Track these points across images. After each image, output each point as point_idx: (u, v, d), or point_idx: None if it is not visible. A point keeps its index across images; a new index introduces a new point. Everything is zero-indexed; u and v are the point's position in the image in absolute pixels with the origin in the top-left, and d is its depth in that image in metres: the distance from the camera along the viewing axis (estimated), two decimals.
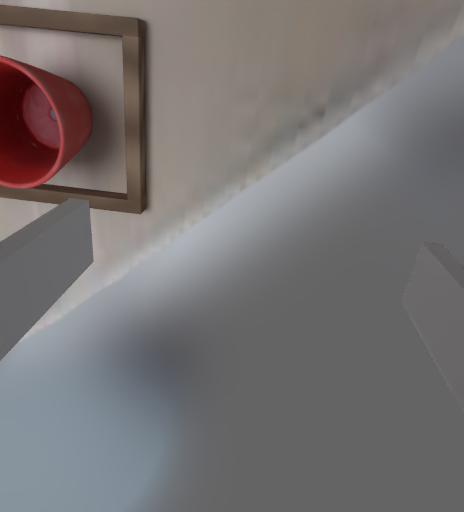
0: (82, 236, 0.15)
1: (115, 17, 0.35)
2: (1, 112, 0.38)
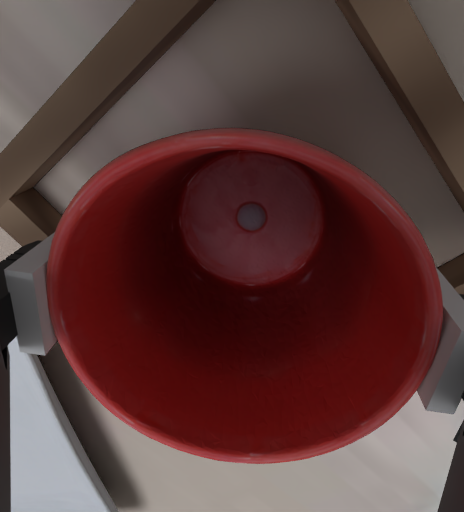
0: None
1: None
2: (174, 291, 0.17)
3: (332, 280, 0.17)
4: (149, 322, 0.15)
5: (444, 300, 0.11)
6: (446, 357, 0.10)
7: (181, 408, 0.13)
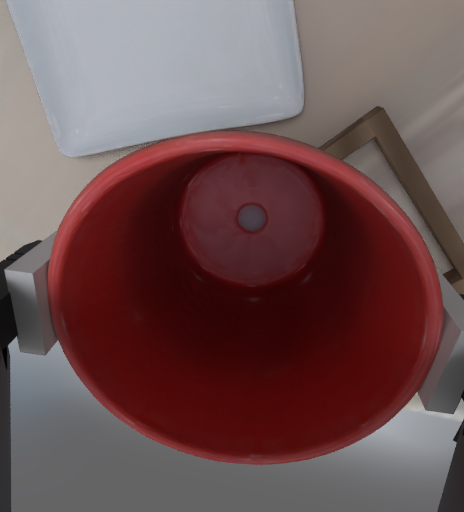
0: None
1: None
2: (175, 292, 0.17)
3: (332, 281, 0.17)
4: (150, 322, 0.15)
5: (444, 300, 0.11)
6: (446, 357, 0.10)
7: (182, 409, 0.13)
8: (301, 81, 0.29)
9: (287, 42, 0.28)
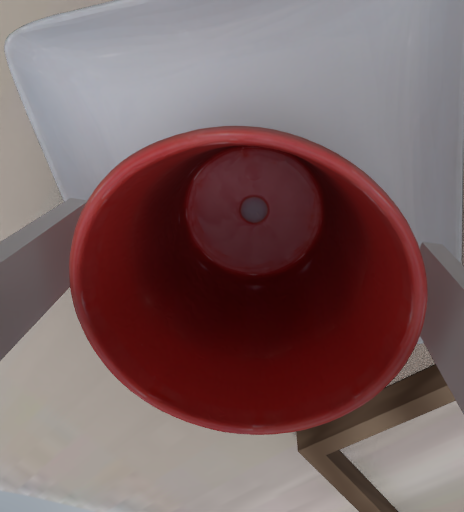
0: None
1: None
2: (181, 279, 0.18)
3: (329, 268, 0.18)
4: (158, 306, 0.16)
5: None
6: None
7: (189, 384, 0.15)
8: None
9: None
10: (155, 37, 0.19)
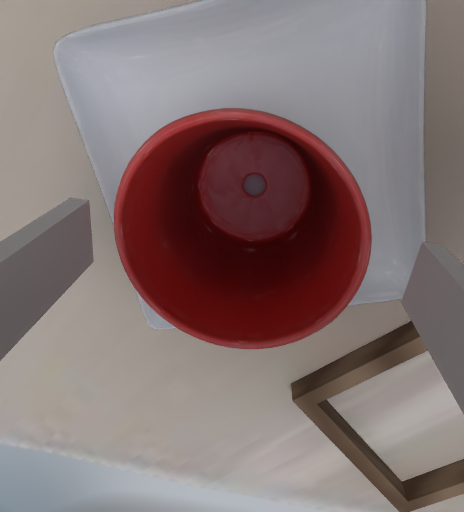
0: (82, 236, 0.15)
1: None
2: (191, 235, 0.23)
3: (311, 235, 0.22)
4: (173, 250, 0.20)
5: None
6: None
7: (192, 309, 0.19)
8: None
9: (410, 228, 0.26)
10: (175, 42, 0.23)
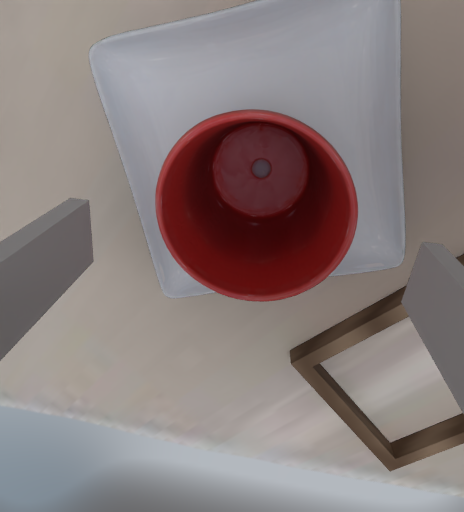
0: (82, 236, 0.15)
1: None
2: (207, 208, 0.27)
3: (307, 213, 0.26)
4: (194, 220, 0.25)
5: None
6: None
7: (210, 268, 0.23)
8: (403, 240, 0.31)
9: (391, 206, 0.30)
10: (191, 47, 0.27)
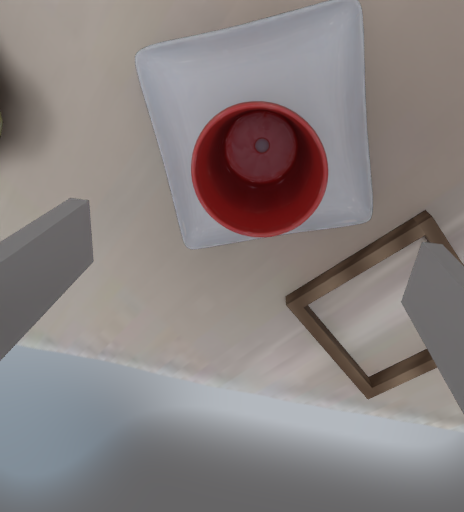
0: (82, 236, 0.15)
1: None
2: (219, 171, 0.36)
3: (292, 181, 0.36)
4: (212, 177, 0.34)
5: None
6: None
7: (222, 212, 0.33)
8: (371, 200, 0.40)
9: (361, 174, 0.40)
10: (210, 52, 0.37)
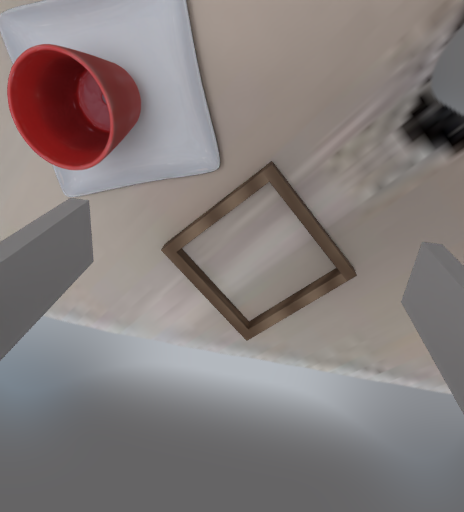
0: (82, 236, 0.15)
1: (347, 264, 0.51)
2: (59, 101, 0.41)
3: None
4: (41, 101, 0.39)
5: None
6: None
7: (33, 131, 0.38)
8: (216, 149, 0.46)
9: (206, 126, 0.45)
10: (64, 16, 0.42)
